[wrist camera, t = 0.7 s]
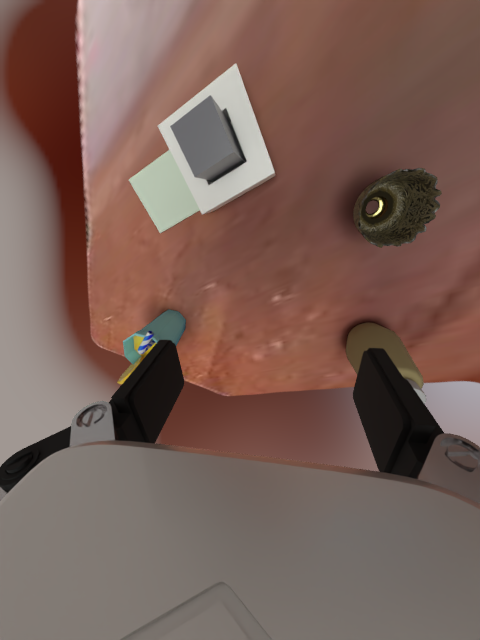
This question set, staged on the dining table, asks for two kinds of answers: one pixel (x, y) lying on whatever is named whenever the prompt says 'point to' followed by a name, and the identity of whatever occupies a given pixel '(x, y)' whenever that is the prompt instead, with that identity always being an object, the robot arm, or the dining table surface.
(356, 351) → the squeeze bottle
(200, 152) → the plug
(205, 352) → the dining table surface
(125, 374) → the cup
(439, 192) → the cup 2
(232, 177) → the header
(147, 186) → the mat
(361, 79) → the dining table surface
